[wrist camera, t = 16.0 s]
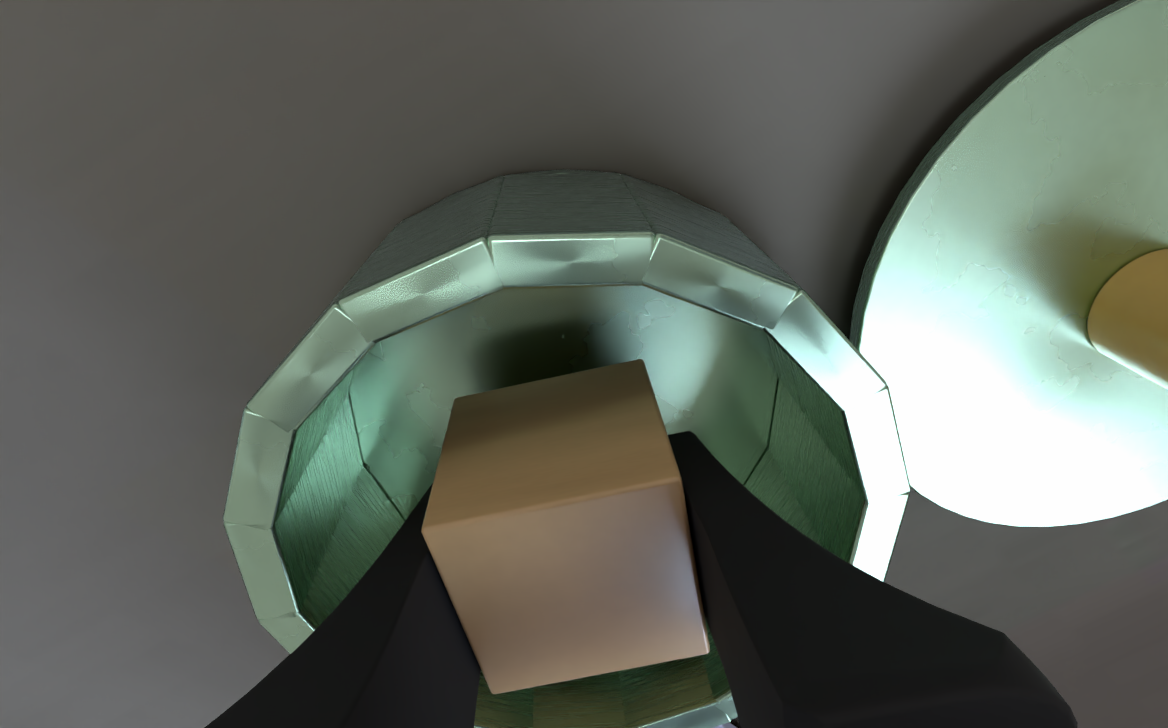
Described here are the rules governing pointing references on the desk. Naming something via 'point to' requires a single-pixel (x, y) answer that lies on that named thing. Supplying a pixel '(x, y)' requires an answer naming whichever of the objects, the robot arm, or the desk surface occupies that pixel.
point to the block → (565, 530)
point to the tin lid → (1036, 286)
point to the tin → (544, 350)
